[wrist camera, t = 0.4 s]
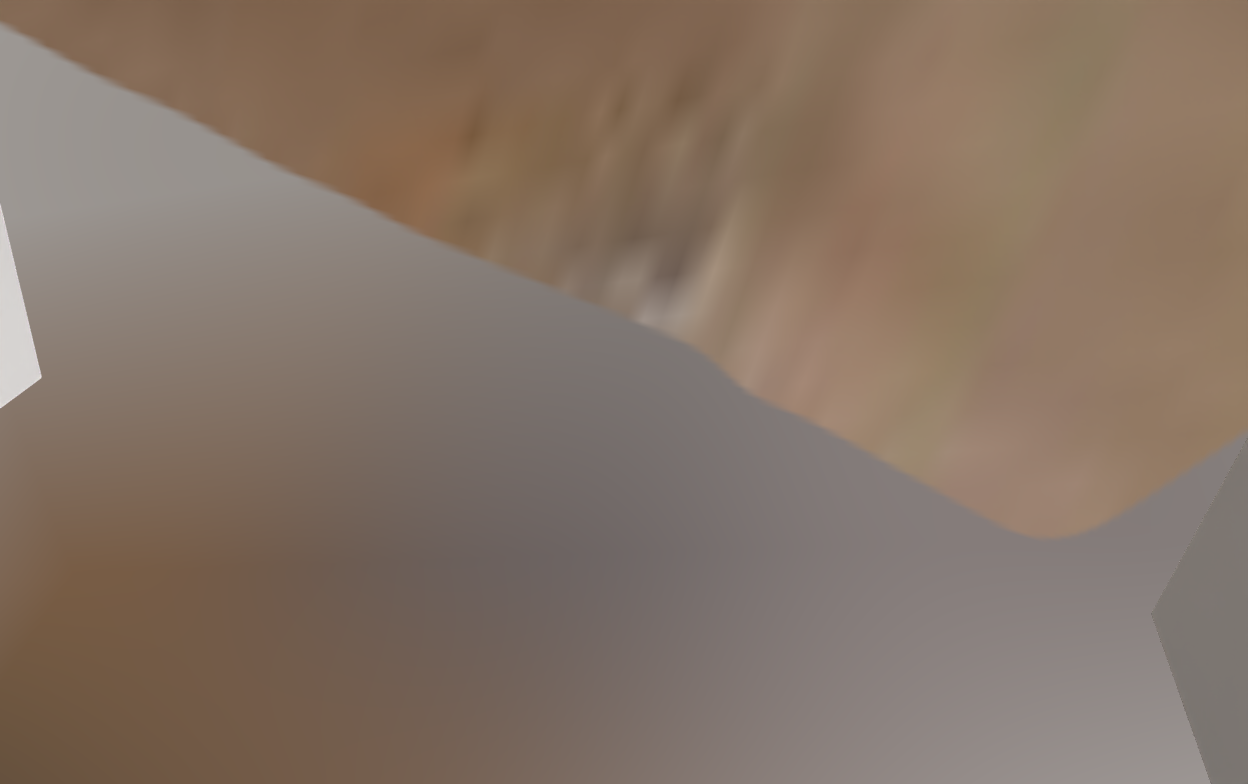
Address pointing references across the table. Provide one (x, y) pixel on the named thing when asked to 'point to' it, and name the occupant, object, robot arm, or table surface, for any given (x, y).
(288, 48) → the table surface
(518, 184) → the table surface
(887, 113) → the table surface
